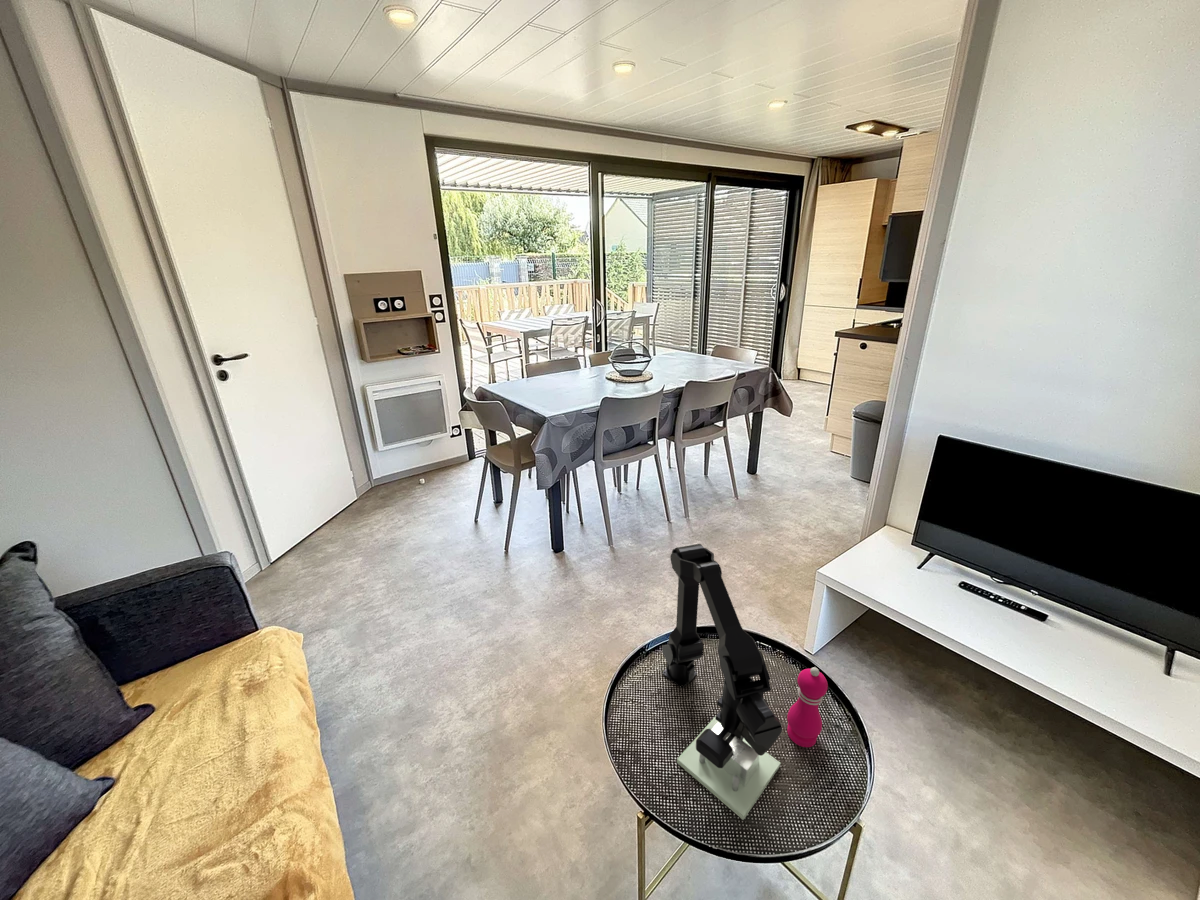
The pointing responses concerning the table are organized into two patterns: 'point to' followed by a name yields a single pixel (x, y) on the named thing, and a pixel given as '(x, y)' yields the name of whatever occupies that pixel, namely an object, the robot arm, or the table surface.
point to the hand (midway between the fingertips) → (729, 752)
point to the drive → (740, 759)
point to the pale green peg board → (728, 777)
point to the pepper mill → (807, 708)
